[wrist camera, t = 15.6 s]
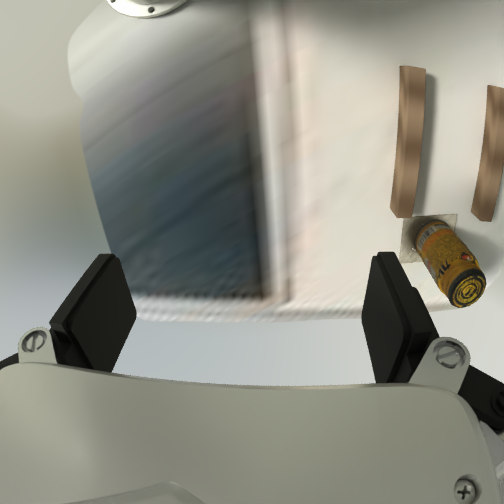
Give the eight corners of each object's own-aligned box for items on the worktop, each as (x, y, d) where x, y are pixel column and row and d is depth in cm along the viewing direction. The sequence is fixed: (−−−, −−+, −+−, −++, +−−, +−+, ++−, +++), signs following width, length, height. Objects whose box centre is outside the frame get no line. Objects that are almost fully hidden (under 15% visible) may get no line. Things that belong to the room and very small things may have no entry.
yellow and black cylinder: (448, 258, 42) (483, 310, 32) (398, 262, 43) (425, 320, 33) (456, 213, 38) (499, 260, 28) (403, 216, 39) (438, 267, 29)
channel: (399, 66, 29) (409, 66, 27) (498, 88, 28) (511, 91, 26) (389, 207, 39) (396, 217, 36) (481, 212, 37) (491, 221, 35)
